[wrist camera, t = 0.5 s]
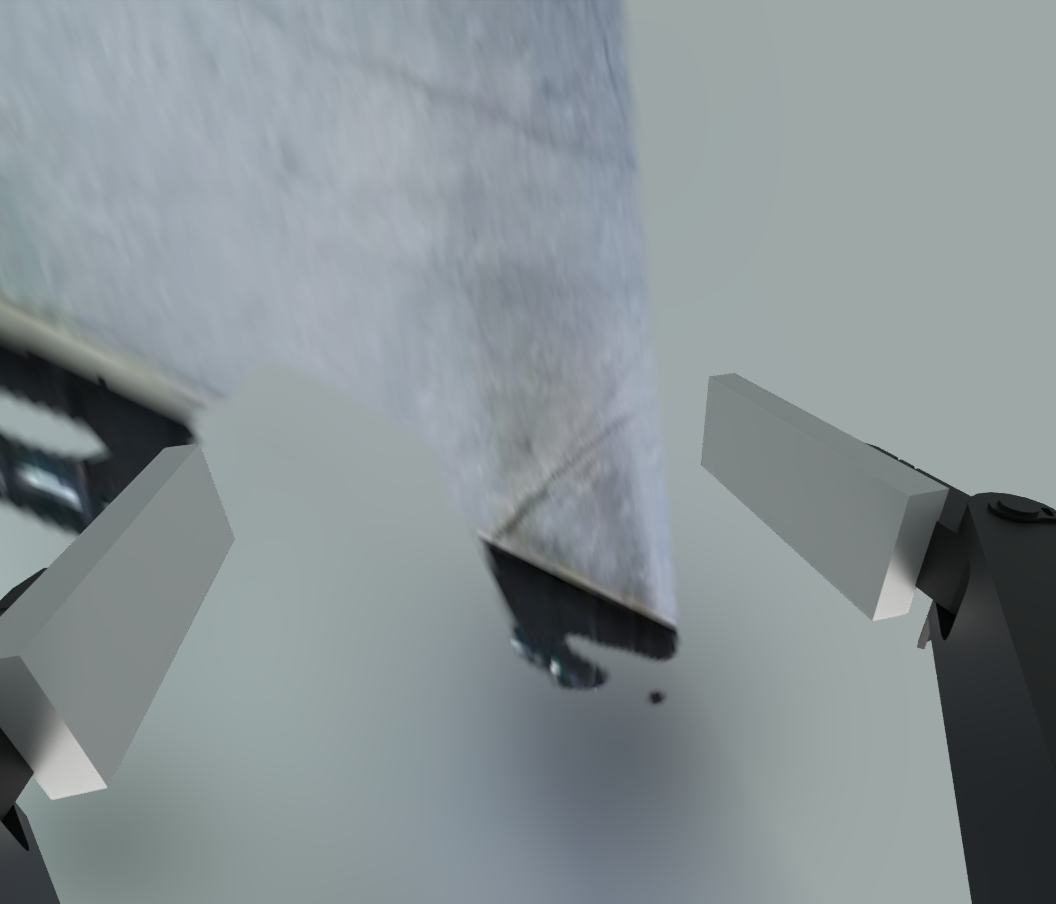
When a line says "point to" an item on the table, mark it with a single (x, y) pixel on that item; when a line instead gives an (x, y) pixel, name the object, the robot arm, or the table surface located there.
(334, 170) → the table surface
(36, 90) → the table surface
